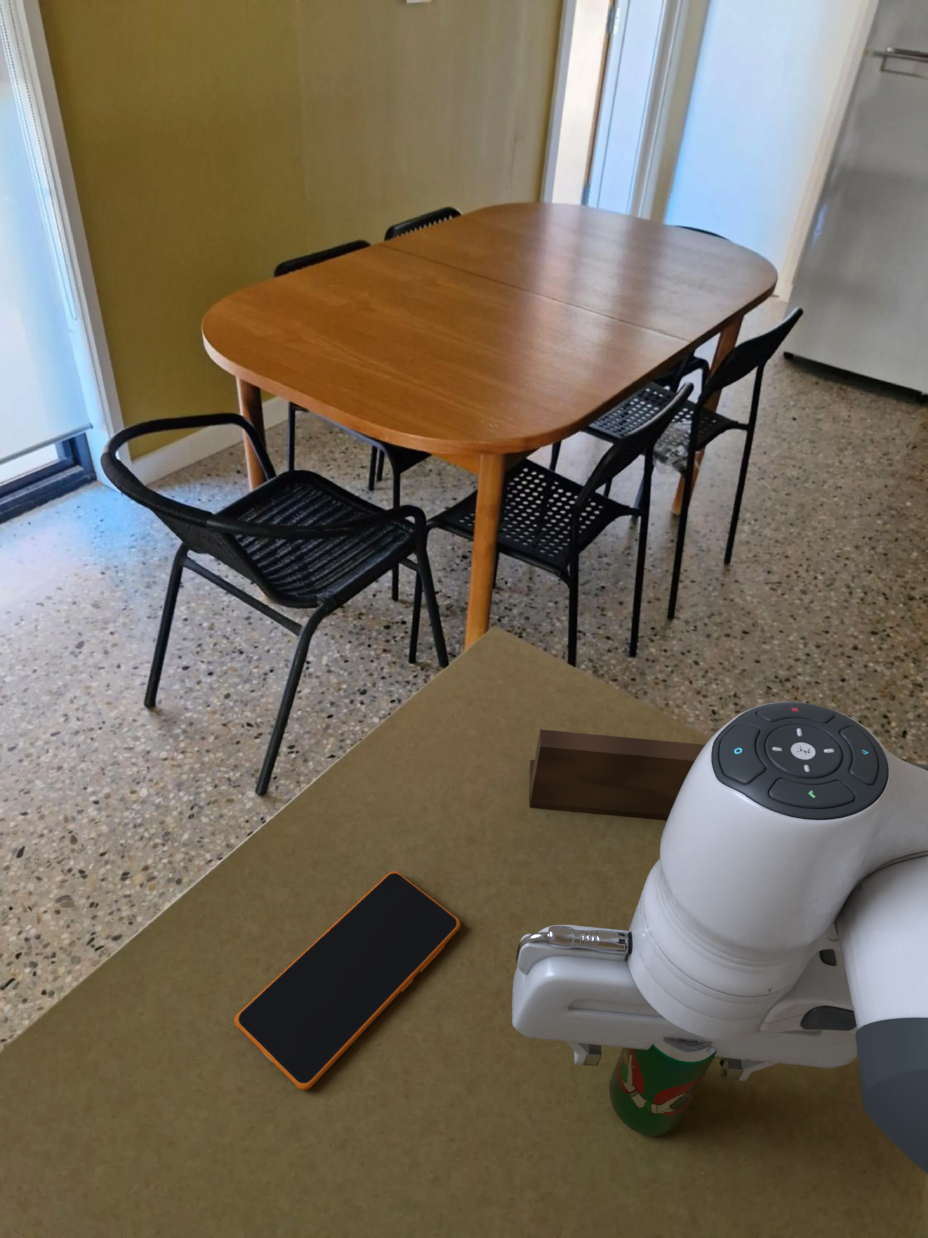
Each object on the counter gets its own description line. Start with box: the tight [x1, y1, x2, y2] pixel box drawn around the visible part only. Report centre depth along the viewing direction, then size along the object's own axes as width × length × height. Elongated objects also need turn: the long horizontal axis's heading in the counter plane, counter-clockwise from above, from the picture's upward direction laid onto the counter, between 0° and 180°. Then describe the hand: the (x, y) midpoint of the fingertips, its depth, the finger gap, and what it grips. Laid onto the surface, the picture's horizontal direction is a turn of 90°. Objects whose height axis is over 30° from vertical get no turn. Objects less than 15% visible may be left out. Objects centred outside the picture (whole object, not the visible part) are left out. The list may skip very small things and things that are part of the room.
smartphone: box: [234, 870, 462, 1091], centre depth 65 cm, size 8×17×1 cm, turn 141°
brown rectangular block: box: [528, 729, 706, 821], centre depth 78 cm, size 16×5×8 cm, turn 86°
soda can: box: [608, 1037, 717, 1137], centre depth 56 cm, size 5×5×12 cm
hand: (657, 1061), depth 57 cm, fingers open, 8 cm apart
